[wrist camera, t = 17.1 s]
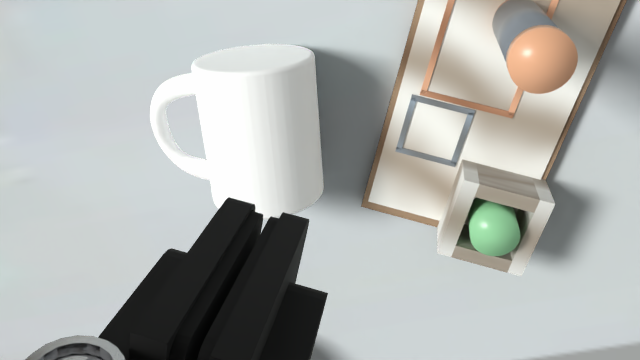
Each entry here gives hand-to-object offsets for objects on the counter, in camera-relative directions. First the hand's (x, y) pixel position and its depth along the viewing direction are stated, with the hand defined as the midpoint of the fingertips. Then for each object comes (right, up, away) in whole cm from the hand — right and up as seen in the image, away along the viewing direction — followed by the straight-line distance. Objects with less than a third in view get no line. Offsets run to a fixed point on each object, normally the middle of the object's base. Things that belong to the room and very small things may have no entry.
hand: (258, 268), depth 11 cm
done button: (+13, -1, +28) cm, 31 cm away
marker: (+13, +12, +23) cm, 29 cm away
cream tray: (+12, +8, +26) cm, 30 cm away
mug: (-4, +7, +31) cm, 32 cm away
